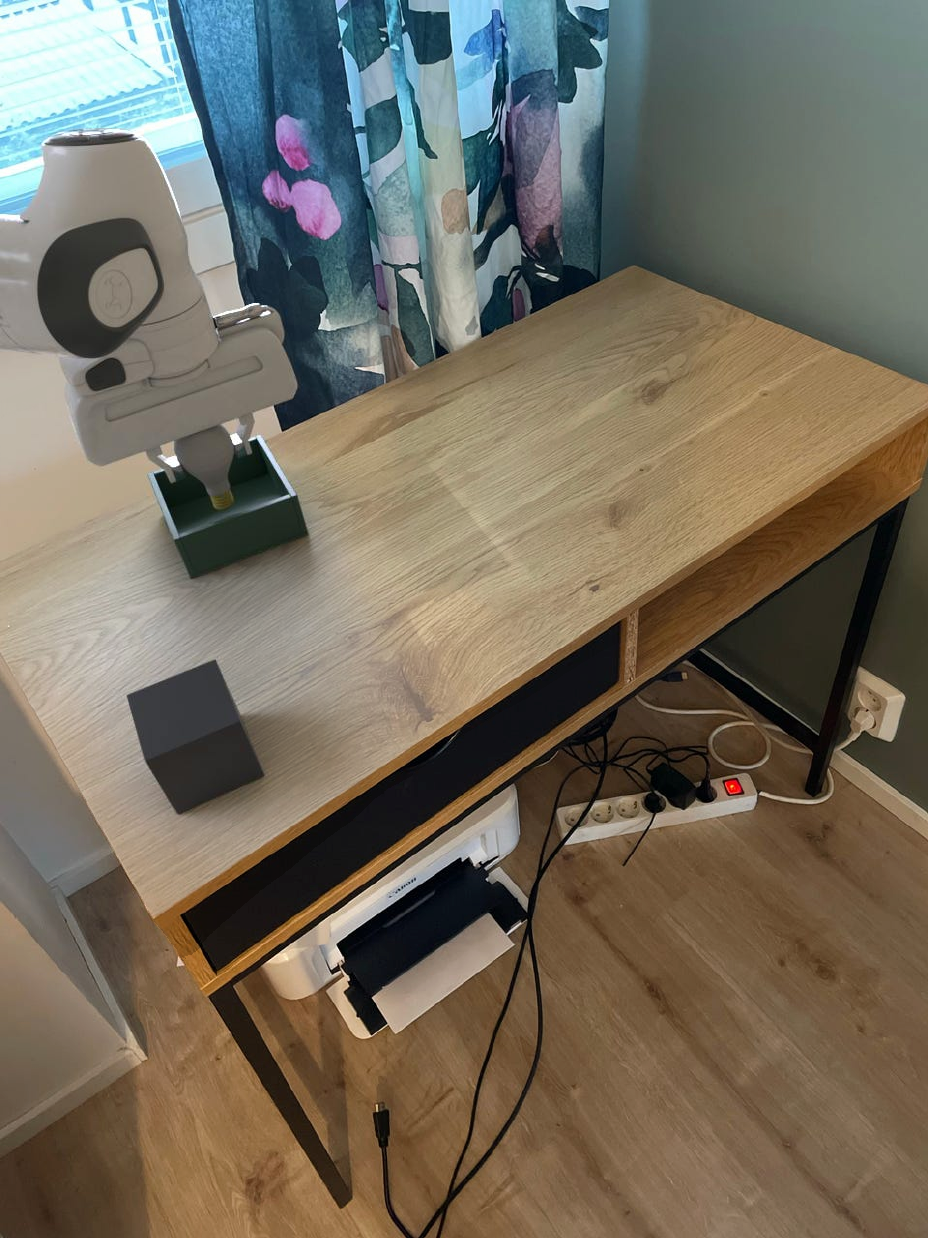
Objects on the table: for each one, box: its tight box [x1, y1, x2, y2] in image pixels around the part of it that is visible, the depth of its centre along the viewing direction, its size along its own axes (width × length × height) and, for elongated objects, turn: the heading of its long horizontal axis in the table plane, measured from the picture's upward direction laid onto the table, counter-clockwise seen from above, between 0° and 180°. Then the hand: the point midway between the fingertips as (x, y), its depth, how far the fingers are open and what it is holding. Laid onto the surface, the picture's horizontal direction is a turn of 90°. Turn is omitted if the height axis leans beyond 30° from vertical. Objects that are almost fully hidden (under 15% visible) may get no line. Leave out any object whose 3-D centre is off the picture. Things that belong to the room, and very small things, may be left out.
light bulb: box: [173, 424, 234, 510], centre depth 87 cm, size 5×6×10 cm
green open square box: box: [146, 434, 309, 580], centre depth 90 cm, size 12×12×5 cm
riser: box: [126, 659, 265, 815], centre depth 68 cm, size 7×7×7 cm
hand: (209, 465), depth 87 cm, fingers closed on light bulb, 5 cm apart
